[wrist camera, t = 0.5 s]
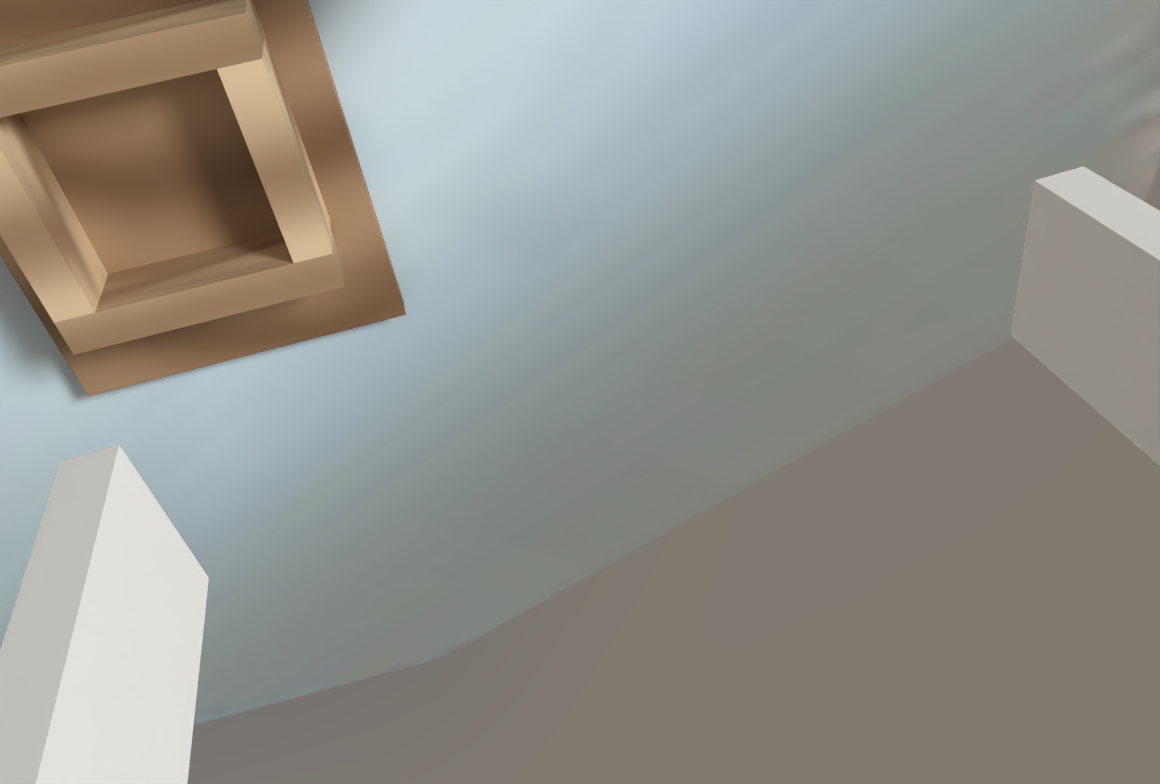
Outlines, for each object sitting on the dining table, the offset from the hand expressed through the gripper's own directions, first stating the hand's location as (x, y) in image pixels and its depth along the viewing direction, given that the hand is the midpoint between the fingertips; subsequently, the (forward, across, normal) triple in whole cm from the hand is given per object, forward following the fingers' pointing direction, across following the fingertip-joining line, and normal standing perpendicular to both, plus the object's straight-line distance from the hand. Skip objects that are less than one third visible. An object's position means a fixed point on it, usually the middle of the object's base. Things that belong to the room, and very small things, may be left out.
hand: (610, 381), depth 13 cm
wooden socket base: (+26, -11, -4) cm, 29 cm away
